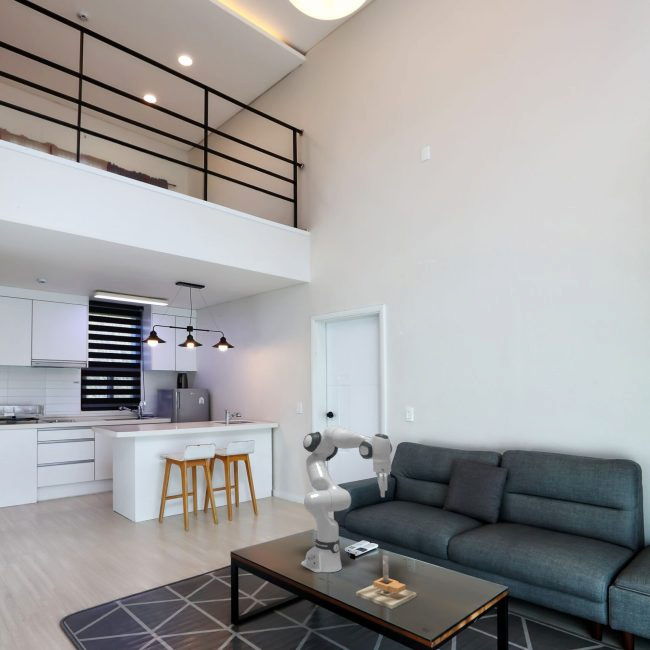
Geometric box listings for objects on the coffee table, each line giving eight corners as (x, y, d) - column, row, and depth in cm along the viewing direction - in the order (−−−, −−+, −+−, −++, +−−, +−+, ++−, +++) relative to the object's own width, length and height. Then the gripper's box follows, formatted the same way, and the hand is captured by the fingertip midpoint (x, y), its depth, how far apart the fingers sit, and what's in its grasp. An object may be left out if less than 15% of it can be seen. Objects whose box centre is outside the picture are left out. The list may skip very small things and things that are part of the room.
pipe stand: (356, 595, 224) (355, 555, 226) (381, 584, 236) (380, 546, 239) (391, 609, 210) (391, 566, 212) (416, 596, 223) (415, 556, 225)
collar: (373, 586, 224) (373, 581, 224) (384, 581, 229) (384, 576, 230) (396, 594, 215) (395, 589, 215) (406, 588, 221) (406, 584, 221)
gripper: (390, 471, 238) (390, 501, 236) (387, 464, 258) (387, 492, 256) (376, 471, 238) (377, 501, 236) (374, 464, 258) (375, 492, 257)
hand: (382, 496), depth 246 cm, fingers closed
